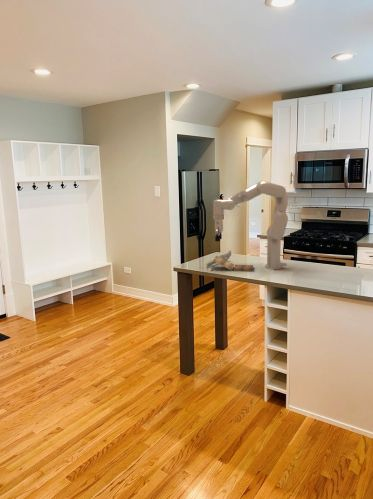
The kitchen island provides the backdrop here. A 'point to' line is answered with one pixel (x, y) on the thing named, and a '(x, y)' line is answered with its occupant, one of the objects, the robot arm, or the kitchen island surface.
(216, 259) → the beige irregular flat piece
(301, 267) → the kitchen island surface
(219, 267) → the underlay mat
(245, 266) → the walnut plank
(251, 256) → the kitchen island surface
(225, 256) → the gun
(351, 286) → the kitchen island surface
